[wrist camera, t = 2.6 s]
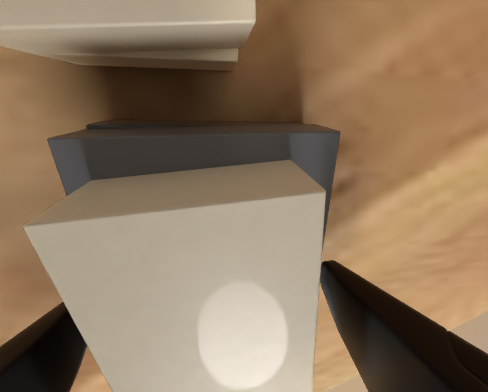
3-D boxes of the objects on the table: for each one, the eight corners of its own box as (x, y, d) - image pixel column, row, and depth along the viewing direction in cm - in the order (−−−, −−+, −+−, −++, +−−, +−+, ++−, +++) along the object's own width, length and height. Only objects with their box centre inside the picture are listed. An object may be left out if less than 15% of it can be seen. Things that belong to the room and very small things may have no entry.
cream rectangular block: (290, 333, 10) (311, 404, 8) (154, 353, 10) (134, 434, 8) (291, 158, 7) (327, 189, 5) (90, 179, 7) (18, 225, 4)
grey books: (285, 286, 15) (307, 350, 11) (144, 295, 14) (116, 367, 10) (306, 119, 11) (352, 131, 7) (108, 115, 10) (41, 127, 6)
